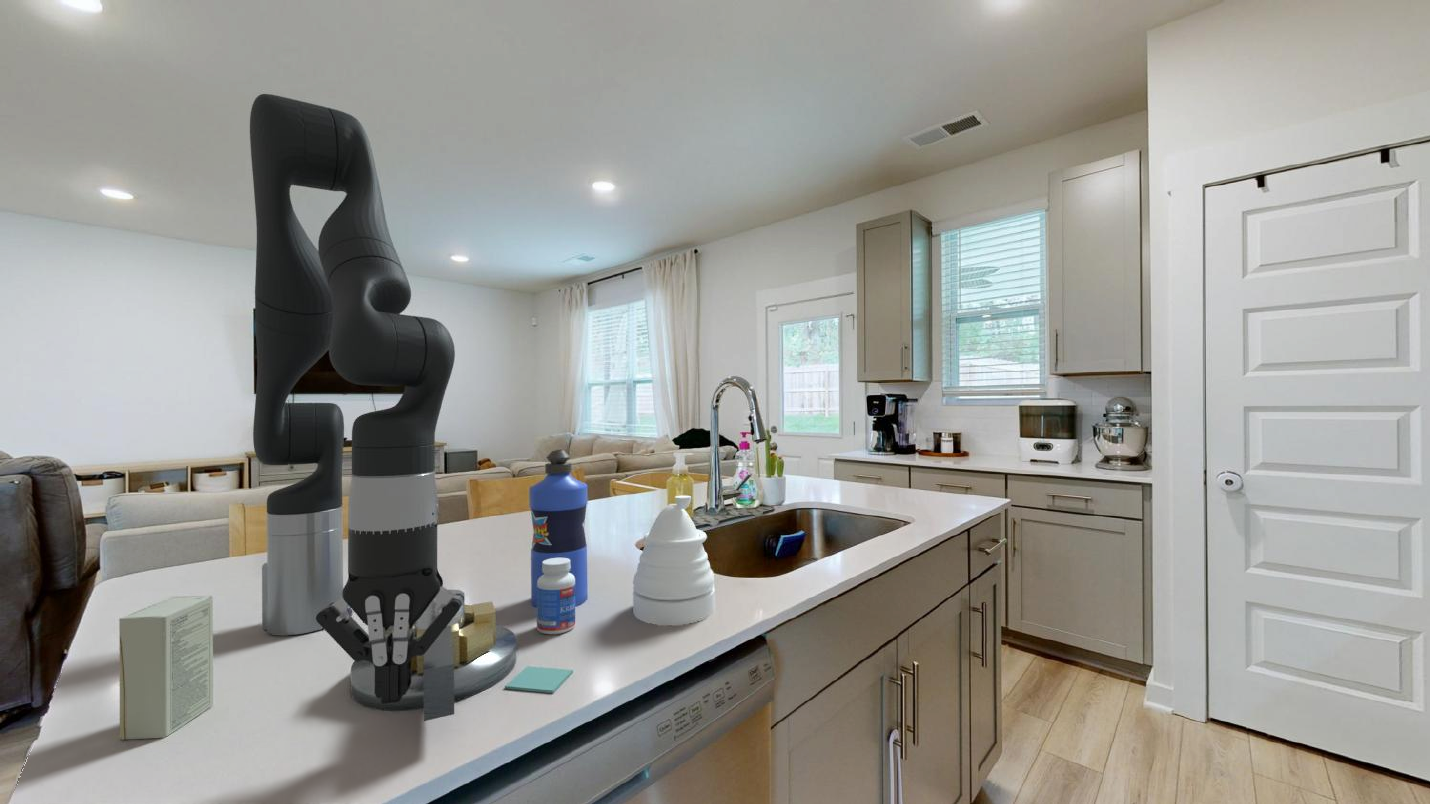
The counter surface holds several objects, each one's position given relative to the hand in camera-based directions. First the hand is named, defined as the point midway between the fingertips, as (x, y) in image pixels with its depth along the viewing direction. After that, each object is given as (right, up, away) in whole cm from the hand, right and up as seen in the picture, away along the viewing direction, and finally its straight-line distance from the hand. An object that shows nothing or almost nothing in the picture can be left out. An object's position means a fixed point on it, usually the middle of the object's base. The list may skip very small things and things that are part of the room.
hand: (393, 698), depth 55 cm
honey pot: (+25, -4, +35) cm, 43 cm away
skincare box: (-25, -5, +4) cm, 26 cm away
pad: (+10, -4, +12) cm, 16 cm away
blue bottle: (+5, -5, +39) cm, 40 cm away
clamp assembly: (0, -1, +10) cm, 10 cm away
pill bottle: (+8, -4, +28) cm, 29 cm away
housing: (-3, -4, +15) cm, 15 cm away
